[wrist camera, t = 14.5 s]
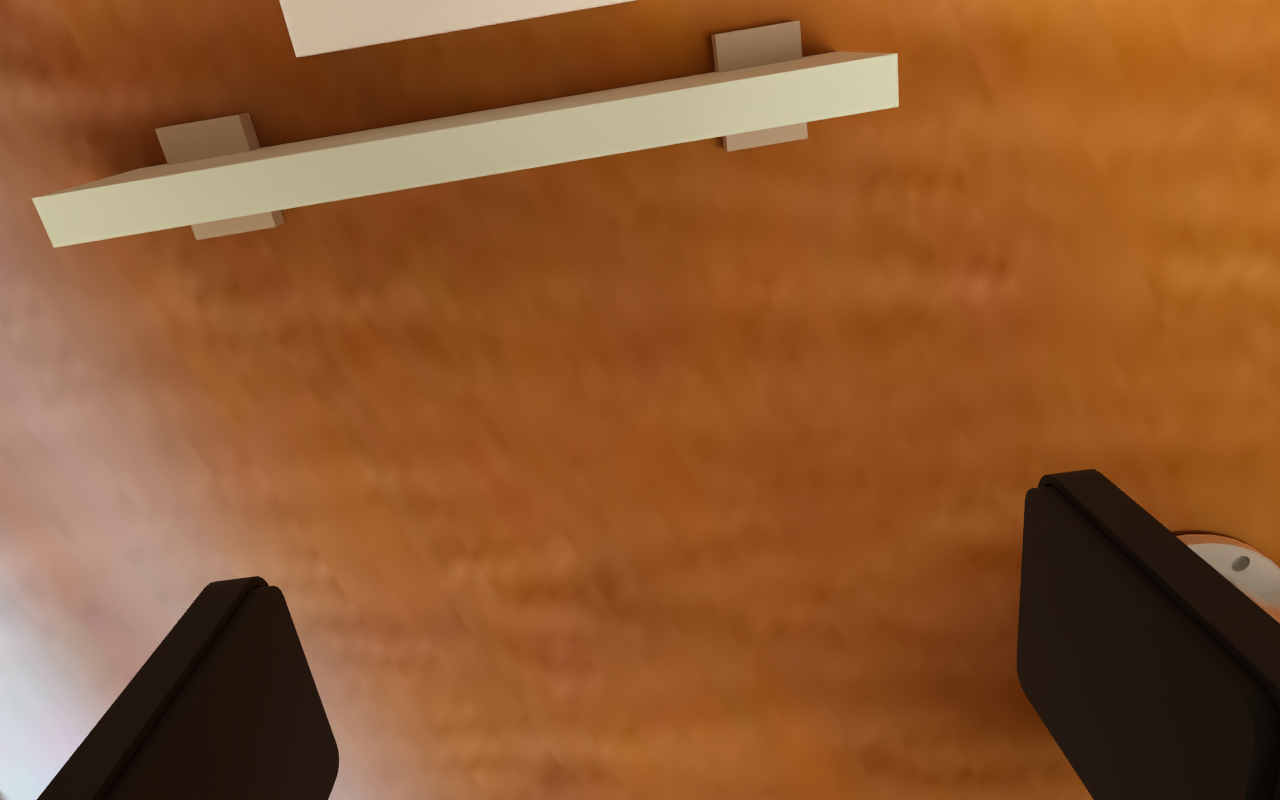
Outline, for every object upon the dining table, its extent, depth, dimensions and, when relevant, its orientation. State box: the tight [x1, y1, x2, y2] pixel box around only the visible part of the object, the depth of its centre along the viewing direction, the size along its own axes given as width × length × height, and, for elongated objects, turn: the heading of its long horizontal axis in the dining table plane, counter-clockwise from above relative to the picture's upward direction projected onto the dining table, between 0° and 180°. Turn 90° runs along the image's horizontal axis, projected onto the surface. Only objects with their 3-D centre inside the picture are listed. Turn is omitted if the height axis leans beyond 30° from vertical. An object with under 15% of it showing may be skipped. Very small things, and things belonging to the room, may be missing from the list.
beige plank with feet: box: [32, 20, 899, 248], centre depth 28 cm, size 26×4×6 cm, turn 99°
